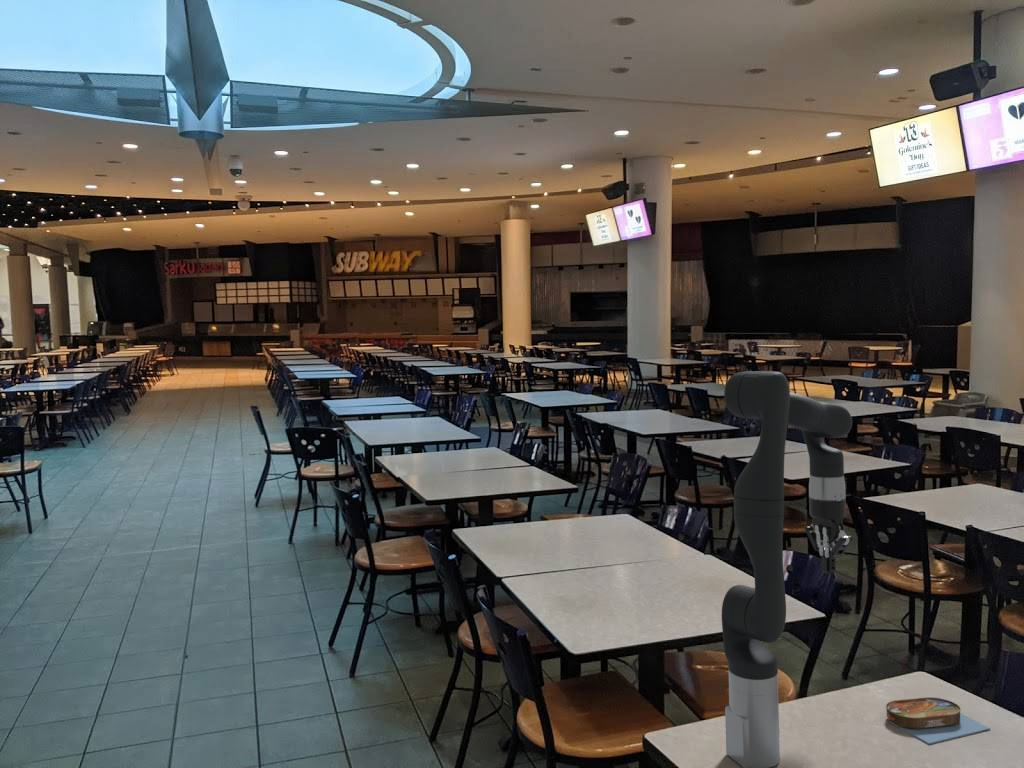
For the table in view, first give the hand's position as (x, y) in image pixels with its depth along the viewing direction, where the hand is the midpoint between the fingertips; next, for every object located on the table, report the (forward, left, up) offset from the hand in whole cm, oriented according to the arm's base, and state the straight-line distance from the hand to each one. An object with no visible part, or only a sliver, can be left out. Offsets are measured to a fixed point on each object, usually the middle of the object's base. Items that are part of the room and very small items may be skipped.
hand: (828, 572), depth 176 cm
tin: (+12, -11, -28) cm, 32 cm away
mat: (+12, -18, -29) cm, 36 cm away
